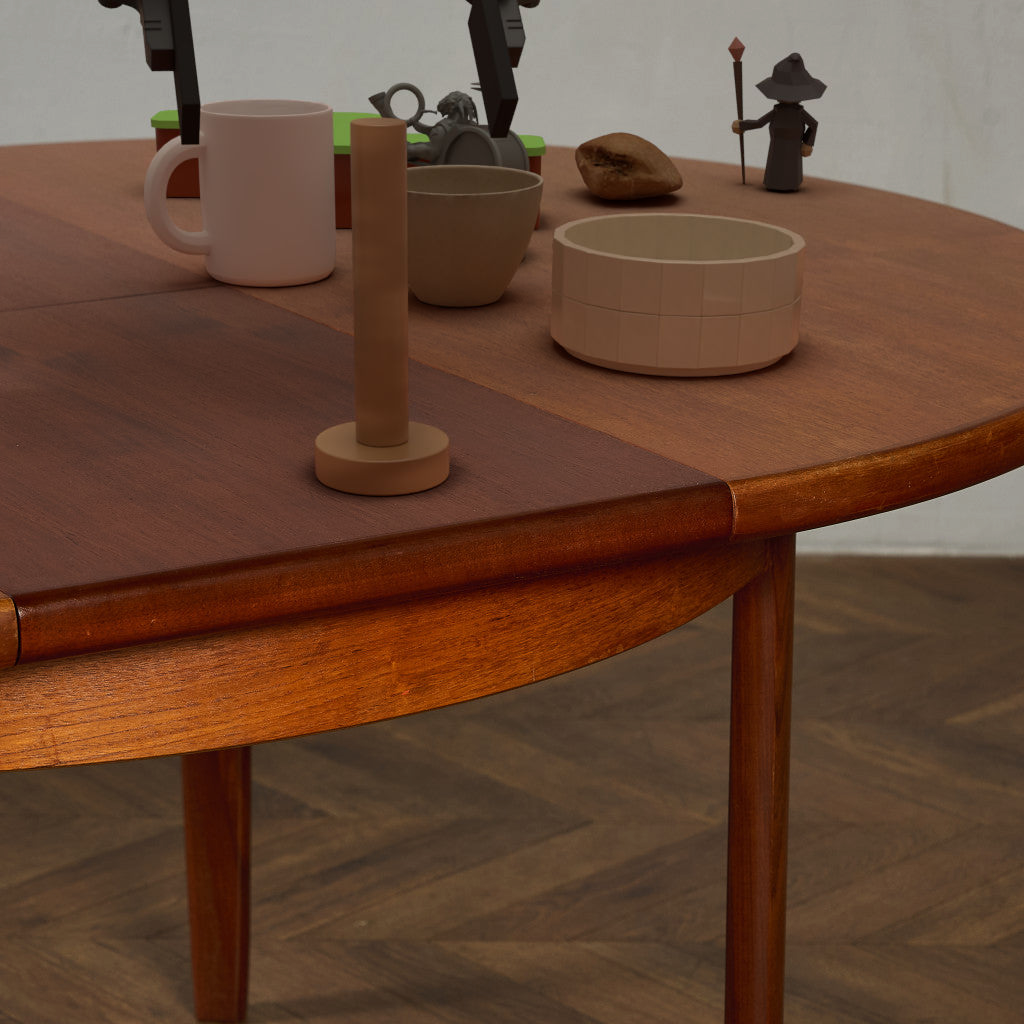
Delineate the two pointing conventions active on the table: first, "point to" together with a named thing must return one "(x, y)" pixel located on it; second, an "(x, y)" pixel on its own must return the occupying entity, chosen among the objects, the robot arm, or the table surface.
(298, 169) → the mug
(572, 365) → the table surface
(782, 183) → the wizard figurine
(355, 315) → the masher
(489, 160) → the figurine
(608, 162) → the brown rounded lump
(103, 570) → the table surface
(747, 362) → the bowl
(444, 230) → the flower pot
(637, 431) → the table surface
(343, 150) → the planter
